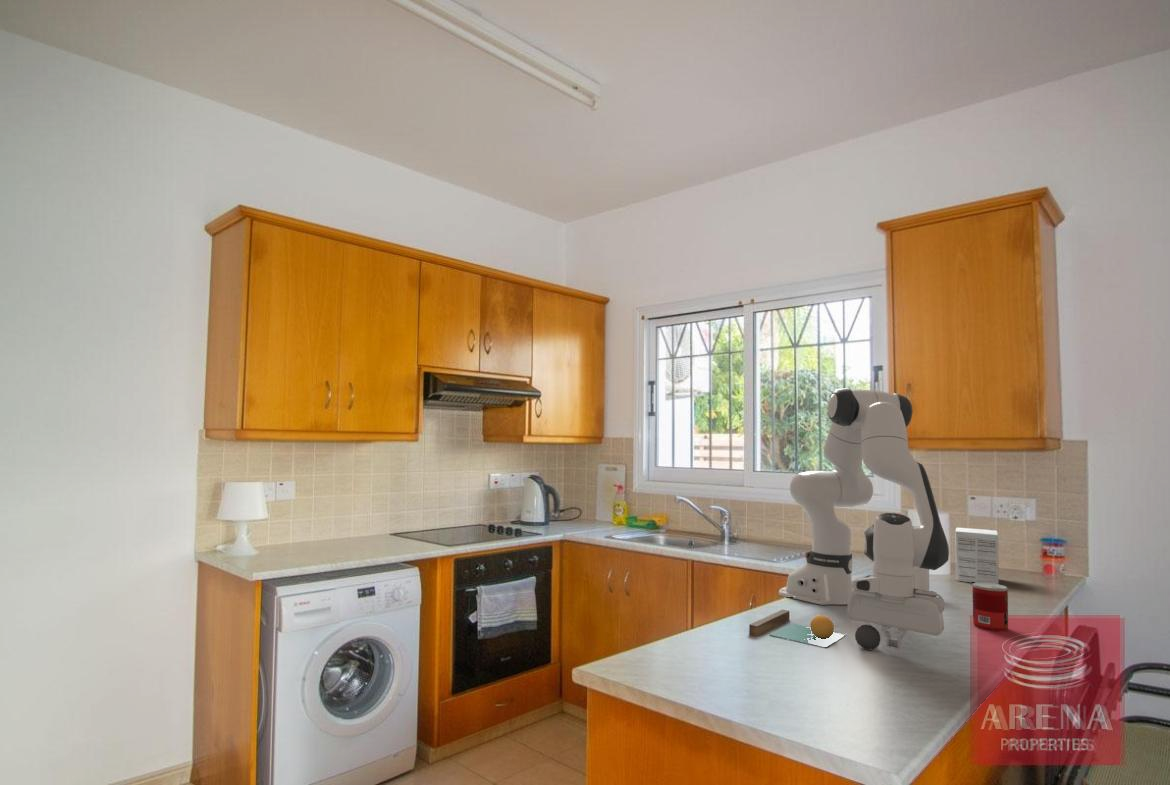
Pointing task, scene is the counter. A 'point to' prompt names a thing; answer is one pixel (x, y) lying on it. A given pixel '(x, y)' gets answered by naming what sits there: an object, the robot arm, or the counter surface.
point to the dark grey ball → (867, 637)
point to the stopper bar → (768, 623)
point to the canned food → (990, 606)
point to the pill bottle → (921, 578)
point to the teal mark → (794, 633)
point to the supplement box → (977, 555)
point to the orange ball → (822, 626)
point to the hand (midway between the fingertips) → (894, 646)
